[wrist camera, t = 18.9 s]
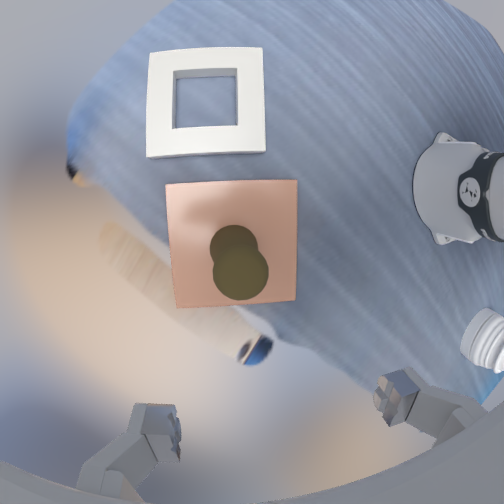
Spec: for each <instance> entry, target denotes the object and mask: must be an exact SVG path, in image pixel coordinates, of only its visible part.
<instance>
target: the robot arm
mask: <svg viewBox="0 0 504 504" xmlns="http://www.w3.org/2000/svg"><path fill="white" fill-rule="evenodd" d="M447 141H448V142H447ZM413 193H414V200H415V205H416V208H417V211H418V213H419V215H420V217H421V219H422V221H423V222H424V223H425V224H426V225H427V226H428V227H429V229H430V230H431V232H432V235H433V238H434V240H435V242H436V244H439V245H444V244H447V243H449V242H452V241H455V240H460V241H463V242H467V243H473V242H474V241H477V240H479V239H480V238H482V237H485V238H487V239H489V240H492V241H498V242H504V153H500V152H489V150H488V149H485V148H481V145H479V144H476V143H475V142H459V141H458V140H456V139H455V138H453V137H451V136H450V135H448V134H446V133H441V132H440V133H438V134H437V136H436V138H435V141H434V143H433V144H432V146H430V147H429V148H428V149H427V150H426V151H425V152H424V153H423V154H422V155H421V157H420V159H419V161H418V163H417V166H416V169H415V173H414V180H413ZM377 384H378V385H379V386H378V388H377V389H376V390H375V392H374V395H373V400H374V404H375V407H376V408H377V410H378V411H381V412H383V416H382V417H383V419H384V420H385V421H386V423H387V424H388V426H389V427H391V426H393V425H396V424H399V423H402V422H405V421H406V423H408V424H410V425H412V426H414V427H416V428H417V429H419V430H421V431H423V432H425V433H427V434H429V435H431V436H433V437H435V438H437V439H436V441H435V442H434V444H433V445H432V448H431V449H430V450H428V451H426V452H424V453H422V454H420V455H418V456H416V457H414V458H412V459H410V460H408V461H406V462H403V463H401V464H399V465H397V466H394V467H392V468H389V469H387V470H385V471H382V472H380V473H377V474H374V475H372V476H369V477H366V478H364V479H360V480H357V481H354V482H351V483H348V484H345V485H342V486H338V487H335V488H331V489H327V490H324V491H320V492H316V493H311V494H307V495H302V496H297V497H292V498H287V499H281V500H275V501H268V502H260V503H252V504H504V401H503V402H502V403H500V404H499V405H498V406H497V407H495V408H494V409H493V410H492V411H490V412H489V413H488V412H487V411H486V410H485V409H484V408H483V407H482V406H481V405H480V404H479V403H478V402H477V401H476V400H475V399H474V398H471V397H468V396H464V395H461V394H458V393H455V392H451V391H448V390H445V389H442V388H439V387H435V386H429V385H428V384H427V383H426V382H425V381H424V380H423V379H422V378H421V377H420V375H419V374H418V373H417V372H416V371H415V370H414V369H413V368H411V367H407V368H404V369H401V370H398V371H395V372H391V373H388V374H385V375H382V376H380V377H379V378H378V382H377ZM176 413H177V411H176V407H175V405H172V404H150V403H148V404H146V403H135V405H134V406H133V410H132V414H131V418H130V421H129V425H128V429H127V433H122V434H121V435H119V436H118V437H117V438H116V439H114V440H113V441H112V442H111V443H109V444H108V445H107V446H106V447H104V448H103V449H102V450H101V451H99V452H98V453H97V454H95V455H94V456H93V457H92V458H90V459H89V460H87V461H86V462H85V463H83V465H82V468H81V472H80V475H79V479H78V482H77V485H76V489H74V488H71V487H67V486H64V485H61V484H58V483H55V482H52V481H49V480H46V479H43V478H41V477H38V476H36V475H33V474H30V473H28V472H26V471H24V470H21V469H19V468H16V467H14V466H12V465H10V464H8V463H6V462H4V461H0V504H152V503H145V502H144V501H143V499H142V498H141V497H140V496H139V495H138V493H137V492H136V491H135V490H136V489H137V487H138V486H139V485H140V484H141V483H142V481H143V480H144V479H145V478H146V477H147V475H148V474H149V473H150V472H151V471H152V470H153V469H154V468H155V466H156V465H157V464H158V462H180V451H181V449H180V446H179V442H180V441H181V425H180V421H179V418H177V417H176Z"/></svg>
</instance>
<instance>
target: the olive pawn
mask: <svg viewBox="0 0 504 504" xmlns="http://www.w3.org/2000/svg"><path fill="white" fill-rule="evenodd" d="M210 255H211V257H212V260H213V262H214V266H213V280H214V283H215V285H216V287H217V288H218V290H219V291H220V292H221V293H222V294H223V295H225V296H226V297H228V298H230V299H233V300H238V301H240V300H248V299H251V298H253V297H255V296H257V295H258V294H259V293H261V292H262V290H263V289H264V287H265V286H266V284H267V280H268V277H269V267H268V264H267V261H266V259H265V258H264V256H263V255H262V254H261V253H260V251H258V243H257V240H256V237H255V236H254V235H253V233H252V232H251V231H250V230H249V229H247V228H245V227H244V226H240V225H228V226H225V227H223V228H221V229H220V230H218V231H217V232H216V233H215V235H214V236H213V238H212V239H211V243H210Z"/></svg>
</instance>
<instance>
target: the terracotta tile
mask: <svg viewBox="0 0 504 504" xmlns="http://www.w3.org/2000/svg"><path fill="white" fill-rule="evenodd" d="M166 204H167V219H168V233H169V244H170V255H171V265H172V274H173V283H174V291H175V299H176V306H177V308H193V307H213V306H230V305H244V304H258V303H270V302H282V301H292V300H296V268H297V180H235V181H211V182H193V183H178V184H166ZM228 225H240V226H244V227H245V228H247V229H249V230H250V231H251V232H252V233H253V235H254V236H255V237H256V240H257V243H258V251H260V253H261V254H262V255H263V256H264V258H265V259H266V261H267V264H268V267H269V277H268V280H267V284H266V286H265V287H264V289H263V290H262V292H261V293H259V294H258V295H257V296H255V297H253V298H251V299H248V300H240V301H238V300H233V299H230V298H228V297H226V296H225V295H223V294H222V293H221V292H220V291H219V290H218V288H217V287H216V285H215V283H214V280H213V266H214V262H213V260H212V257H211V255H210V243H211V239H212V238H213V236H214V235H215V233H216V232H217V231H218V230H220V229H221V228H223V227H225V226H228Z"/></svg>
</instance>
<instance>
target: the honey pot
mask: <svg viewBox="0 0 504 504" xmlns="http://www.w3.org/2000/svg"><path fill="white" fill-rule="evenodd" d="M460 350H461V353H462V354H463V355H464V356H465V357H466V358H467V359H469V360H470V361H471V362H472V363H474V364H475V365H477V366H482V367H486V368H491V369H493V370H494V372H495V373H499V372H501V371H504V317H503V316H501V315H499V314H498V313H496V312H494V311H492V310H491V309H489V308H484V309H482V310H481V311H479V312H478V313H477V314H476V315H475V317H474V318H473V319H472V320H471V322H470V323H469V325H468V327H467V329H466V331H465V333H464V335H463V338H462V341H461V346H460Z"/></svg>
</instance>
